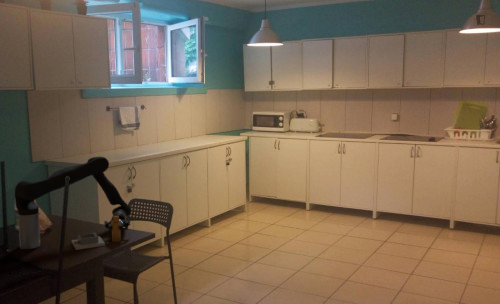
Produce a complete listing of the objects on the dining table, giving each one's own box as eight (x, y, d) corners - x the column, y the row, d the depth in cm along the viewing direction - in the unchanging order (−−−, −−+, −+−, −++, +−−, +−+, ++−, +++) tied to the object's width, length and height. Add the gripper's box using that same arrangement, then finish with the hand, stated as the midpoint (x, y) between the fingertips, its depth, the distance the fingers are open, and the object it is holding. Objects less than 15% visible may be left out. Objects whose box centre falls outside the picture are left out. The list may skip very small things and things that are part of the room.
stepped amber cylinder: (113, 242, 244) (112, 218, 242) (111, 240, 248) (110, 216, 246) (121, 241, 246) (120, 216, 244) (119, 238, 250) (118, 214, 248)
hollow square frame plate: (76, 249, 232) (75, 241, 232) (71, 243, 243) (71, 234, 242) (105, 245, 239) (104, 236, 239) (99, 238, 250) (99, 230, 249)
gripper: (105, 213, 258) (100, 221, 242) (131, 212, 261) (129, 220, 244) (105, 226, 259) (101, 235, 242) (132, 225, 262) (129, 234, 245)
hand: (115, 228), depth 243 cm, fingers closed on stepped amber cylinder, 4 cm apart
